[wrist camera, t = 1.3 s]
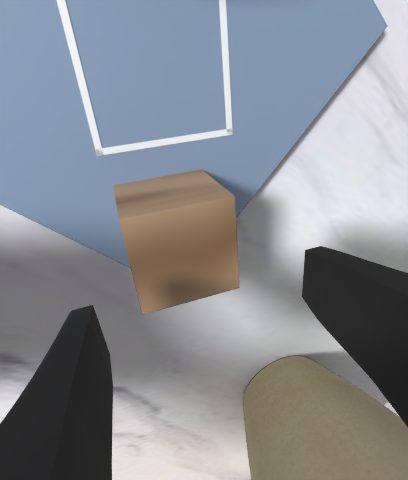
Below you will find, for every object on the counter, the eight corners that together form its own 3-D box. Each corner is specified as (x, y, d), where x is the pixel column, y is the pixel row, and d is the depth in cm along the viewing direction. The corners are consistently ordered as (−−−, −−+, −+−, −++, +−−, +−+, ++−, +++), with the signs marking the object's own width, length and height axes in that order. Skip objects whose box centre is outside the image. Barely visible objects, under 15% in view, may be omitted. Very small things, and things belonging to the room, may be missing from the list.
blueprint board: (176, 285, 19) (178, 291, 19) (-160, 119, 12) (-173, 121, 11) (378, 27, 16) (388, 25, 16) (102, -449, 8) (103, -487, 8)
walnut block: (209, 244, 18) (239, 287, 14) (132, 263, 17) (142, 314, 13) (201, 169, 16) (234, 195, 12) (113, 185, 15) (118, 219, 11)
